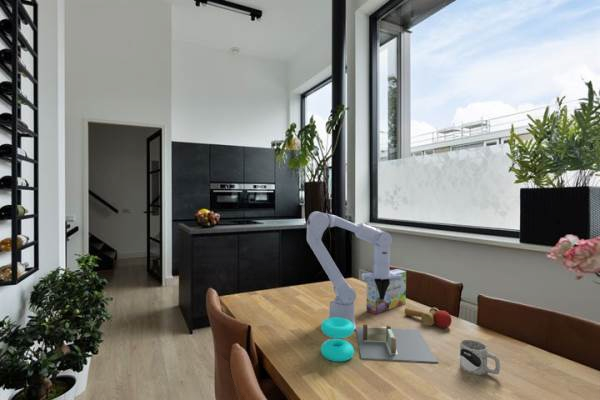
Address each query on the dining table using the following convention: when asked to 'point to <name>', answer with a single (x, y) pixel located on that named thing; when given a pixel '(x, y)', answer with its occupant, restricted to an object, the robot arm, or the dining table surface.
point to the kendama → (431, 317)
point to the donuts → (337, 347)
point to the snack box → (386, 294)
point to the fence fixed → (375, 333)
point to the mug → (476, 358)
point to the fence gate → (391, 341)
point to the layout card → (397, 347)
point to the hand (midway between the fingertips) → (381, 298)
